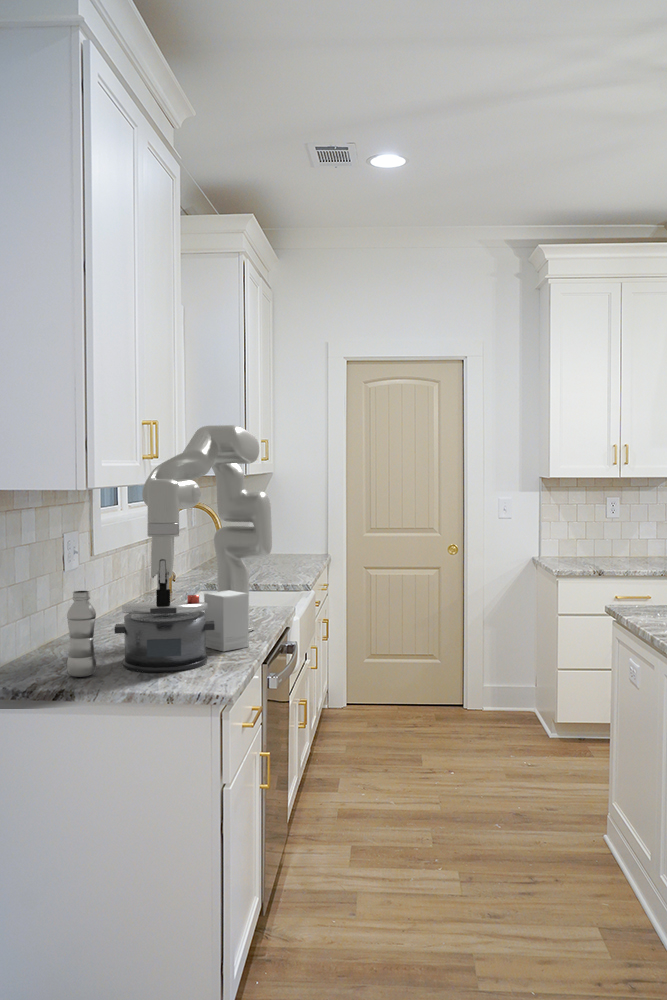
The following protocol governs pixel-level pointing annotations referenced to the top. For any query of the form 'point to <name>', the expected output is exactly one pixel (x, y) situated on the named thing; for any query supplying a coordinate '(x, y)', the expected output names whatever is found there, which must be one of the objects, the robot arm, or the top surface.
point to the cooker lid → (174, 607)
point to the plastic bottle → (81, 636)
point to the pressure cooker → (164, 641)
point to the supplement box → (227, 620)
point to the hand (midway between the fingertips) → (163, 605)
